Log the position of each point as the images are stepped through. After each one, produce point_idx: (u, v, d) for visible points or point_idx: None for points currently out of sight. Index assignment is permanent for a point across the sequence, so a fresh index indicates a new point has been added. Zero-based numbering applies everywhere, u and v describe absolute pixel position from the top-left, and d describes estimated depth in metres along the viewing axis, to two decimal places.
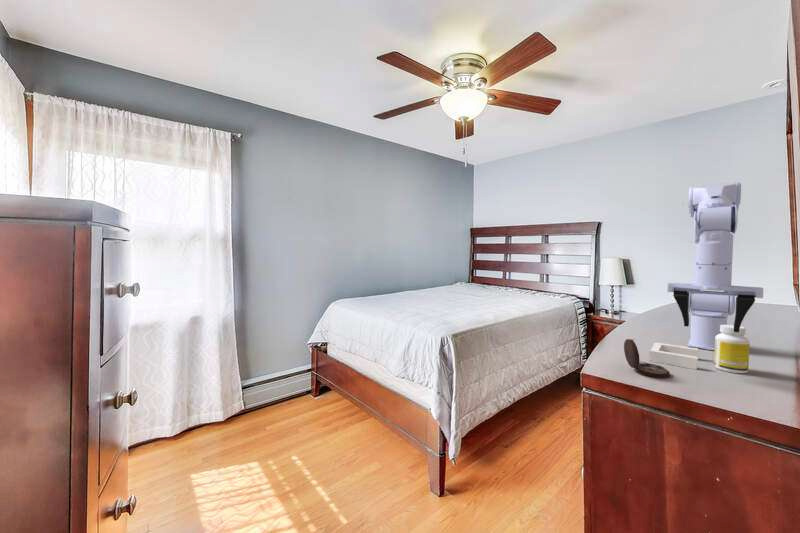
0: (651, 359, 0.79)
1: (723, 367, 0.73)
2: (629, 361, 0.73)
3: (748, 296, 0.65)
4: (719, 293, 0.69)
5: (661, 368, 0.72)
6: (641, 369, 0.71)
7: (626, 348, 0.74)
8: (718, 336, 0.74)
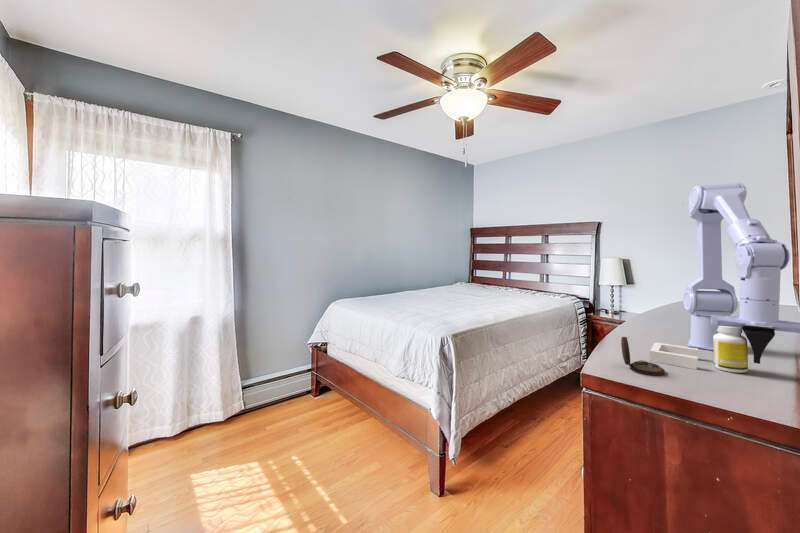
0: (651, 359, 0.79)
1: (723, 366, 0.73)
2: (623, 358, 0.75)
3: (797, 332, 0.66)
4: (766, 328, 0.69)
5: (658, 367, 0.73)
6: (634, 366, 0.73)
7: (621, 345, 0.76)
8: (715, 336, 0.74)
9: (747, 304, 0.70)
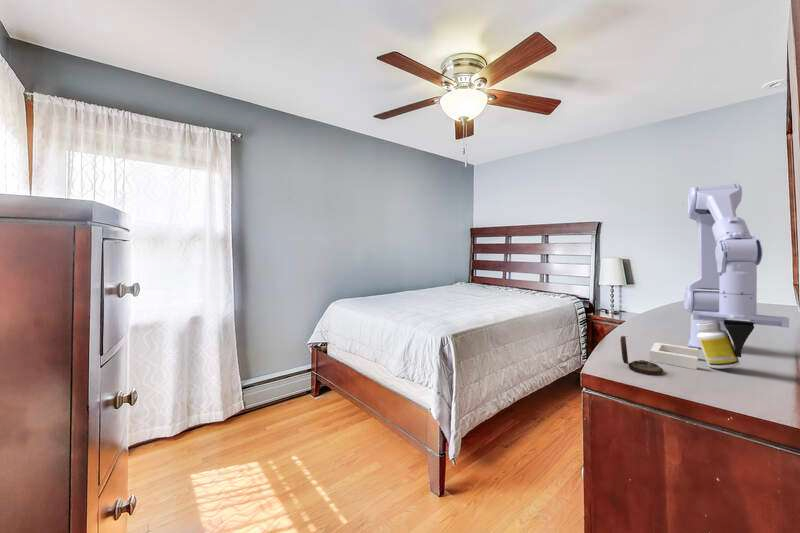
0: (651, 359, 0.79)
1: (713, 364, 0.73)
2: None
3: (774, 325, 0.68)
4: (745, 322, 0.71)
5: (657, 366, 0.73)
6: (632, 365, 0.74)
7: None
8: (698, 335, 0.76)
9: (726, 298, 0.72)
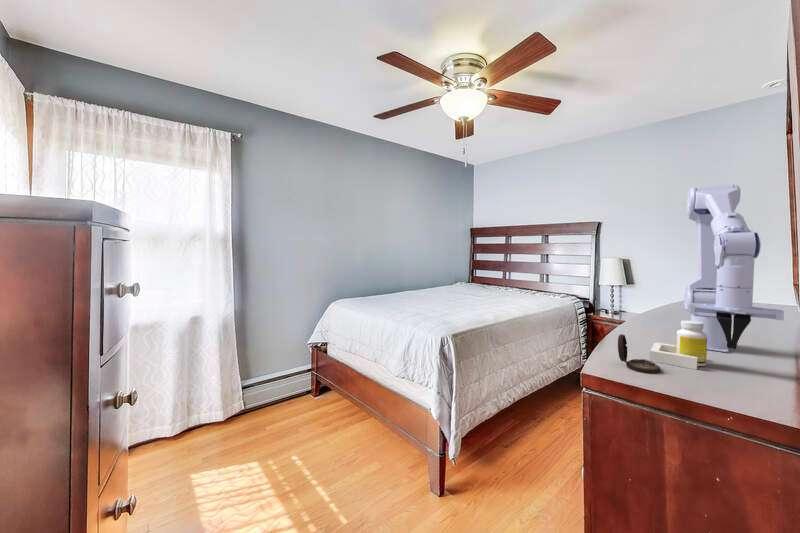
0: (651, 359, 0.79)
1: None
2: None
3: (769, 318, 0.69)
4: (740, 314, 0.72)
5: (655, 366, 0.74)
6: (629, 363, 0.75)
7: None
8: (679, 331, 0.79)
9: (722, 291, 0.72)
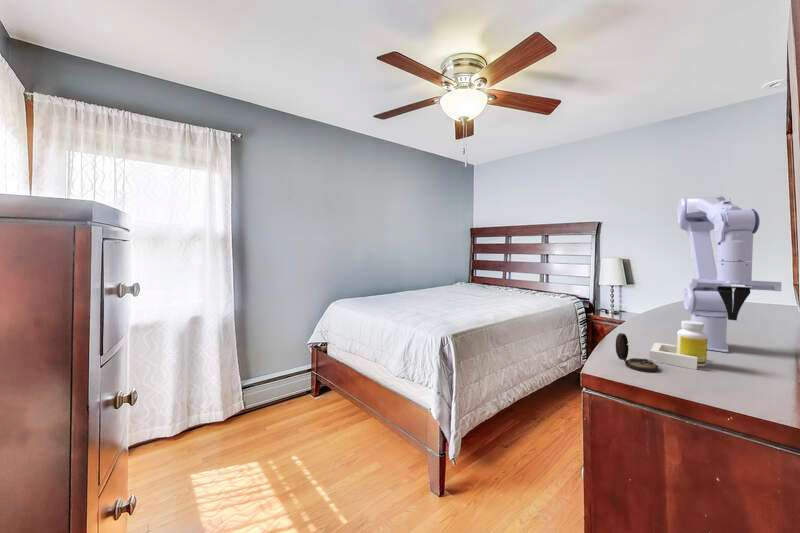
0: (651, 359, 0.79)
1: None
2: None
3: (767, 289, 0.73)
4: (740, 287, 0.76)
5: (654, 365, 0.74)
6: (627, 361, 0.76)
7: None
8: (679, 331, 0.78)
9: (723, 266, 0.76)
